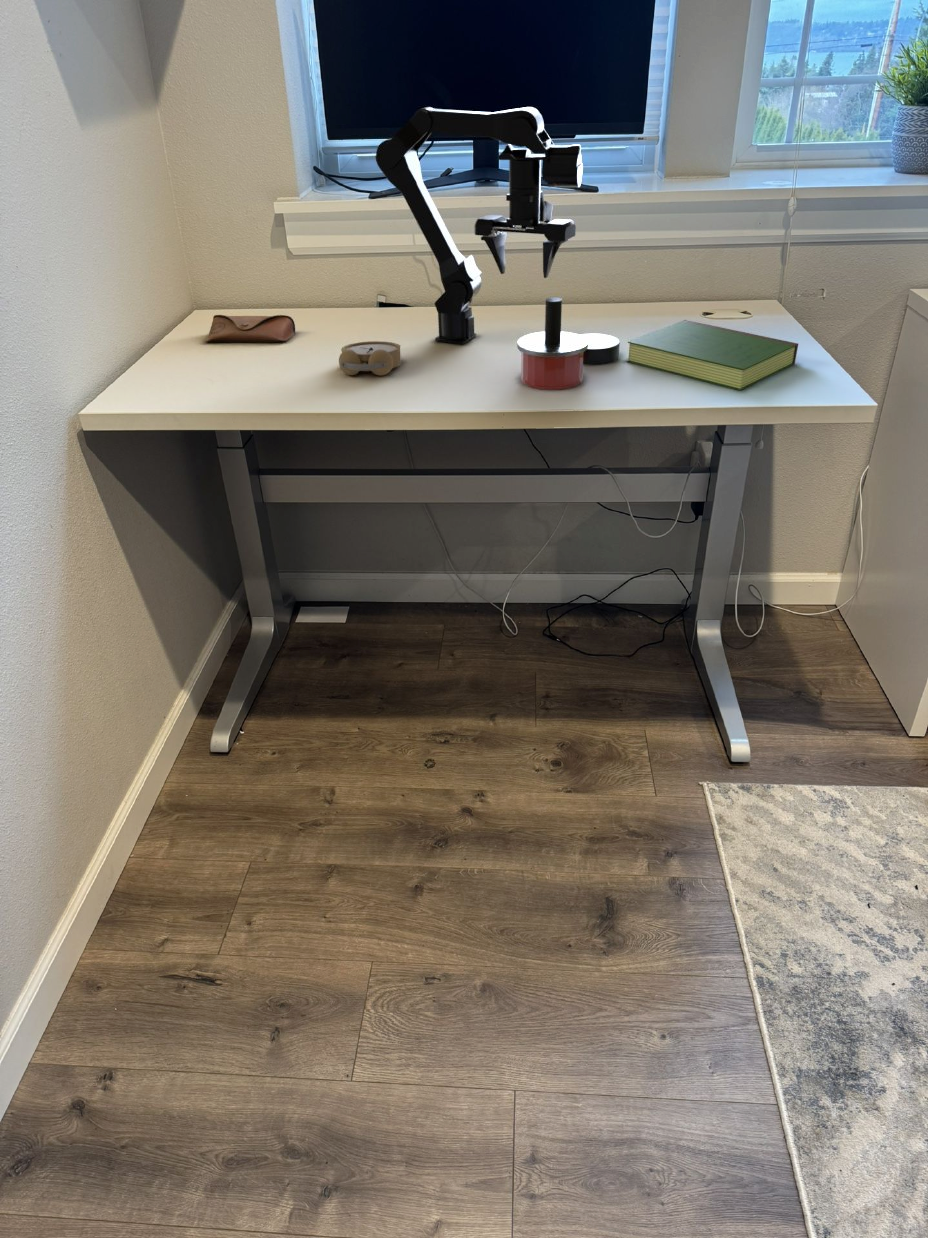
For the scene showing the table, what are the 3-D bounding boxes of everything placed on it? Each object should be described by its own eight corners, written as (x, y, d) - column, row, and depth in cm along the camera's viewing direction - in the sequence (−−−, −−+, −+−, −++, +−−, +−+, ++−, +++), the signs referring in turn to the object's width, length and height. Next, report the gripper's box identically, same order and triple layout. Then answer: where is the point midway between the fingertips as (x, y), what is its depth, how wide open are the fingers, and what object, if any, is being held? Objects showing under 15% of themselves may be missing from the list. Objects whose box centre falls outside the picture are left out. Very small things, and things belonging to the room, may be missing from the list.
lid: (505, 351, 153) (504, 305, 148) (534, 332, 162) (535, 287, 157) (572, 360, 148) (573, 312, 143) (598, 340, 157) (601, 294, 152)
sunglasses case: (202, 341, 182) (202, 308, 182) (214, 349, 189) (214, 318, 189) (286, 341, 181) (286, 308, 180) (295, 349, 188) (296, 318, 187)
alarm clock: (405, 341, 170) (390, 350, 157) (406, 367, 172) (391, 378, 159) (349, 340, 171) (329, 350, 158) (350, 366, 174) (331, 378, 160)
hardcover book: (794, 363, 161) (798, 343, 159) (740, 390, 150) (743, 369, 148) (679, 337, 176) (681, 319, 174) (623, 360, 166) (624, 340, 163)
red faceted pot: (511, 384, 156) (511, 351, 153) (536, 366, 164) (537, 334, 161) (568, 393, 152) (569, 359, 149) (591, 373, 160) (593, 341, 157)
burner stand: (558, 361, 167) (558, 345, 165) (577, 346, 174) (578, 330, 172) (607, 367, 163) (608, 351, 161) (625, 352, 170) (627, 336, 168)
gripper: (588, 182, 163) (584, 270, 172) (498, 178, 170) (499, 262, 179) (565, 191, 155) (562, 283, 164) (472, 187, 162) (474, 275, 171)
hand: (524, 275), depth 170 cm, fingers open, 9 cm apart
